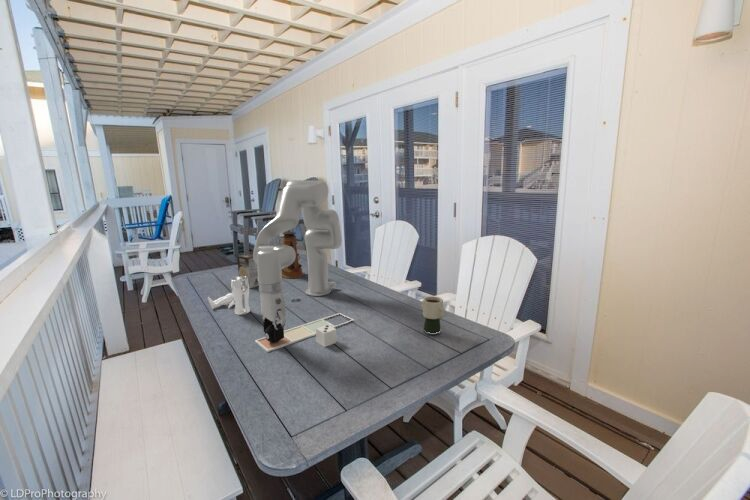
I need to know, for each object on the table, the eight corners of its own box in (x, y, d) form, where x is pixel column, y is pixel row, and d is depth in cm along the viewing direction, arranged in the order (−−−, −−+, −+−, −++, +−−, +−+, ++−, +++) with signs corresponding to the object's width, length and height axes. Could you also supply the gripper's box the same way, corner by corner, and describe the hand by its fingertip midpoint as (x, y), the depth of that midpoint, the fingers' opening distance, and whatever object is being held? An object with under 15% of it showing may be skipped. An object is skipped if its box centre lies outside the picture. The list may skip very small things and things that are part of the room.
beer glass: (245, 316, 142) (242, 281, 138) (230, 314, 143) (226, 280, 140) (254, 309, 148) (251, 276, 145) (239, 308, 150) (236, 275, 147)
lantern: (309, 276, 197) (307, 224, 190) (287, 280, 189) (284, 226, 182) (296, 270, 210) (293, 221, 203) (275, 273, 202) (272, 222, 196)
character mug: (449, 335, 125) (451, 301, 122) (436, 341, 121) (437, 306, 118) (428, 325, 134) (429, 293, 131) (414, 330, 129) (415, 297, 127)
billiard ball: (261, 342, 119) (260, 325, 118) (276, 335, 124) (275, 320, 123) (272, 347, 116) (271, 330, 114) (287, 340, 120) (286, 324, 119)
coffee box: (238, 285, 180) (236, 255, 177) (248, 282, 186) (246, 253, 182) (250, 288, 176) (247, 258, 172) (260, 285, 181) (258, 255, 178)
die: (328, 337, 123) (327, 324, 122) (336, 342, 120) (336, 328, 119) (316, 342, 120) (315, 328, 119) (324, 347, 116) (324, 333, 115)
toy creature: (206, 294, 154) (233, 284, 160) (210, 306, 156) (237, 296, 162) (210, 302, 145) (238, 291, 150) (215, 315, 147) (243, 303, 152)
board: (339, 314, 144) (339, 312, 144) (354, 321, 137) (354, 319, 137) (254, 342, 120) (254, 340, 120) (267, 352, 113) (267, 350, 113)
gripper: (293, 290, 111) (296, 340, 115) (269, 278, 124) (272, 324, 128) (272, 295, 106) (275, 348, 110) (248, 282, 119) (252, 330, 123)
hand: (273, 334), depth 119 cm, fingers open, 7 cm apart
